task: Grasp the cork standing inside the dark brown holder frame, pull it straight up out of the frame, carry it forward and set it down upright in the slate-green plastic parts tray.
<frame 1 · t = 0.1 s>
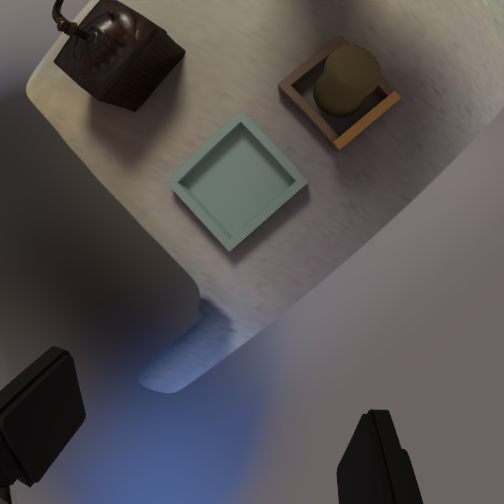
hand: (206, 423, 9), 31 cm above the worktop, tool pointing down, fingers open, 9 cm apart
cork: (337, 93, 34), resting in holder frame
parts tray: (238, 180, 38), on the worktop
brown coffee grinder: (126, 53, 35), on the worktop
holder frame: (338, 93, 34), on the worktop
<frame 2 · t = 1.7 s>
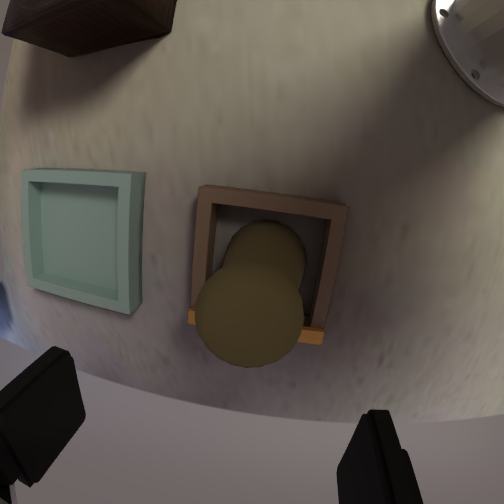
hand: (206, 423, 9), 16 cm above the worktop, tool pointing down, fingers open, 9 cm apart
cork: (266, 259, 24), resting in holder frame
parts tray: (83, 232, 26), on the worktop
holder frame: (266, 260, 24), on the worktop
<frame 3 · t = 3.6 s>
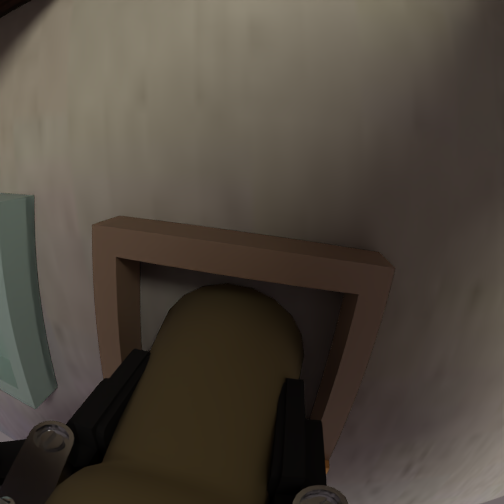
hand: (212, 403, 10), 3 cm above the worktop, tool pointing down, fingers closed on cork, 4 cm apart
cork: (230, 349, 13), resting in holder frame, touching gripper
holder frame: (230, 351, 13), on the worktop
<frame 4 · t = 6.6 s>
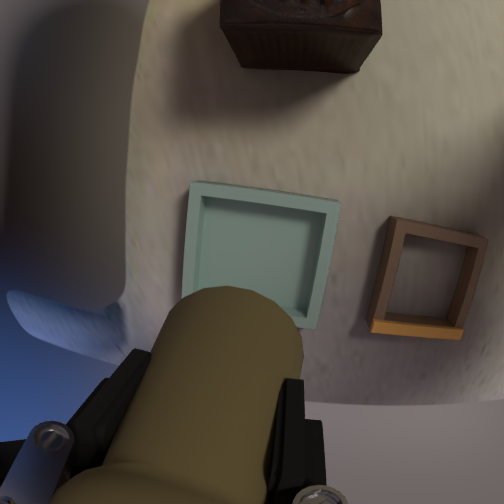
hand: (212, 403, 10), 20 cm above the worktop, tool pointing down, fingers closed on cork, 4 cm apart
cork: (230, 351, 13), point 16 cm above the worktop, touching gripper
parts tray: (258, 251, 28), on the worktop
brown coffee grinder: (302, 1, 22), on the worktop
holder frame: (425, 277, 27), on the worktop
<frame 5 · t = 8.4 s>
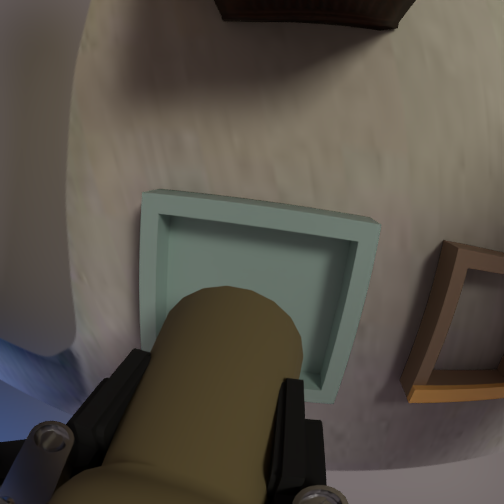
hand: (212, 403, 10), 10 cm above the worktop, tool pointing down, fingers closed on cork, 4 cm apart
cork: (230, 351, 13), point 6 cm above the worktop, touching gripper
parts tray: (251, 294, 19), on the worktop
holder frame: (480, 321, 18), on the worktop
when the fingers open (5 cm above the worktop, at t = 9.7 s): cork stays where it is, resting on parts tray.
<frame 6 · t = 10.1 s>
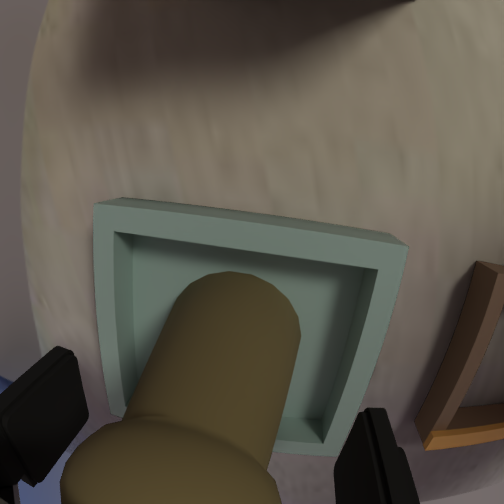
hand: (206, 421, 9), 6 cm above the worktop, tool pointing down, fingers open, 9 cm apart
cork: (234, 332, 14), resting on parts tray
parts tray: (237, 330, 15), on the worktop
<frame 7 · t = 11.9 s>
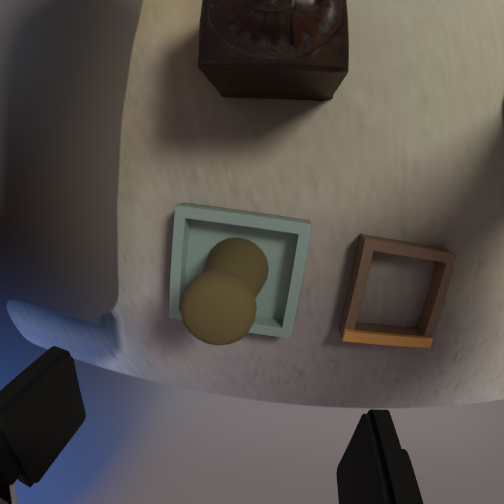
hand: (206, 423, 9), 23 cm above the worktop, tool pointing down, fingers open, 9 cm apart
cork: (237, 268, 31), resting on parts tray
parts tray: (238, 267, 31), on the worktop
brown coffee grinder: (280, 29, 25), on the worktop
holder frame: (395, 289, 30), on the worktop
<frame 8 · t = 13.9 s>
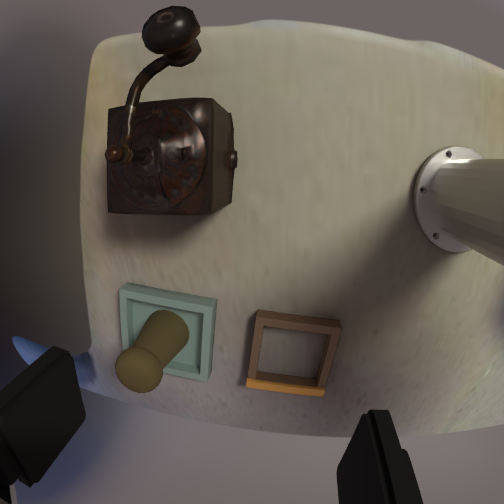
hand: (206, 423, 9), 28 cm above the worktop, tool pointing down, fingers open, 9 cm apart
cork: (167, 330, 40), resting on parts tray
parts tray: (169, 329, 40), on the worktop
brown coffee grinder: (190, 137, 34), on the worktop
holder frame: (292, 350, 39), on the worktop
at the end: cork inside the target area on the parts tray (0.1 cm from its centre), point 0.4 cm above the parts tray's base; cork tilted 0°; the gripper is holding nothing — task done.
